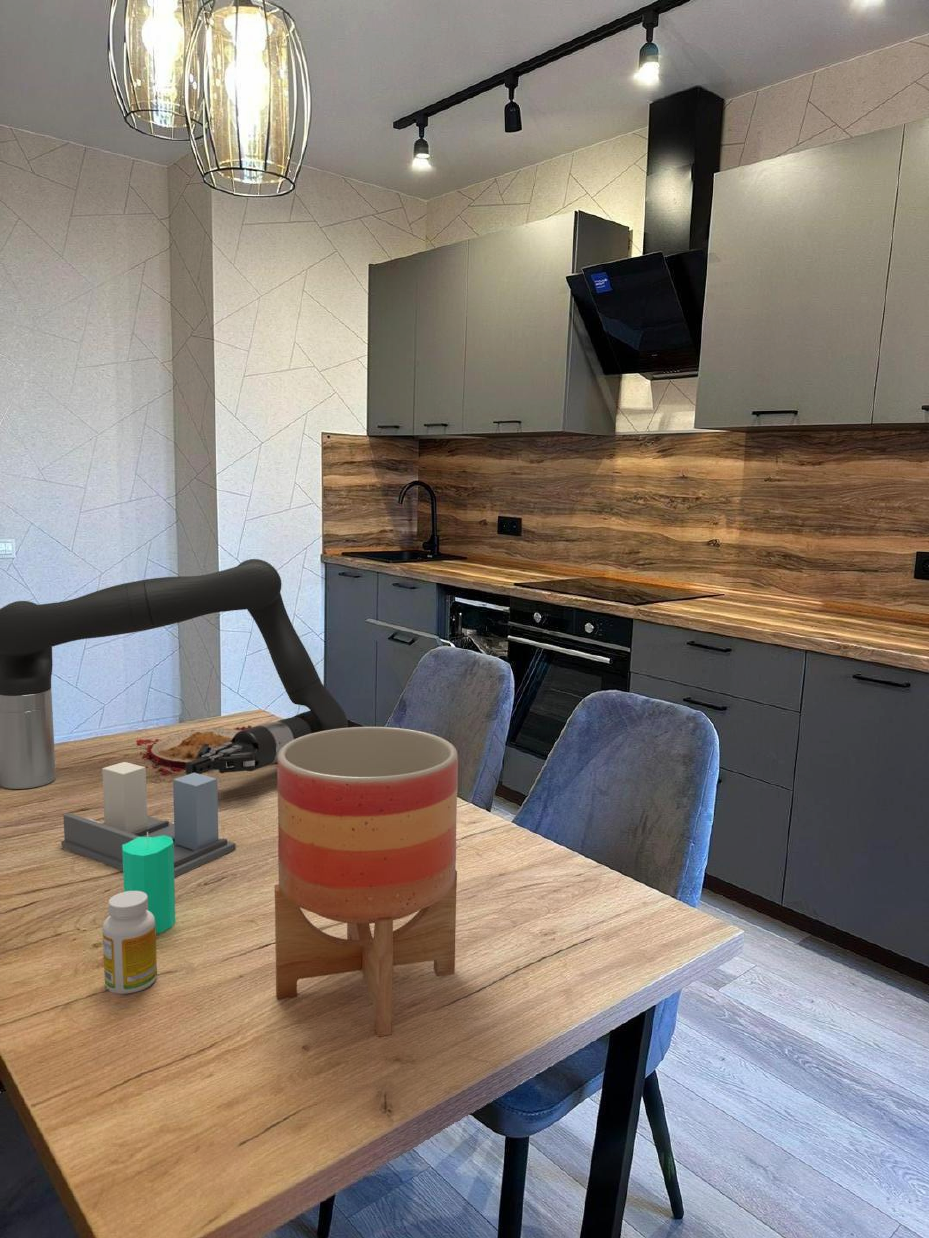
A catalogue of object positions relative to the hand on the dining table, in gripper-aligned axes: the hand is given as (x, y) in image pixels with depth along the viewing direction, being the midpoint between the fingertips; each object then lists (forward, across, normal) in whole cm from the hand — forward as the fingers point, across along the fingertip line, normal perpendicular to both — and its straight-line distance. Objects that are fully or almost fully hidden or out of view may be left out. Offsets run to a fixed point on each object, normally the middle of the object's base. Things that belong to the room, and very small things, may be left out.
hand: (188, 769), depth 143 cm
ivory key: (+12, 0, +6) cm, 14 cm away
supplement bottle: (+38, +34, +8) cm, 52 cm away
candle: (+28, +25, +8) cm, 39 cm away
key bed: (+14, +6, +8) cm, 17 cm away
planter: (+24, +56, +8) cm, 61 cm away
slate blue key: (+10, +13, +6) cm, 17 cm away
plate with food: (-25, -24, +8) cm, 36 cm away
